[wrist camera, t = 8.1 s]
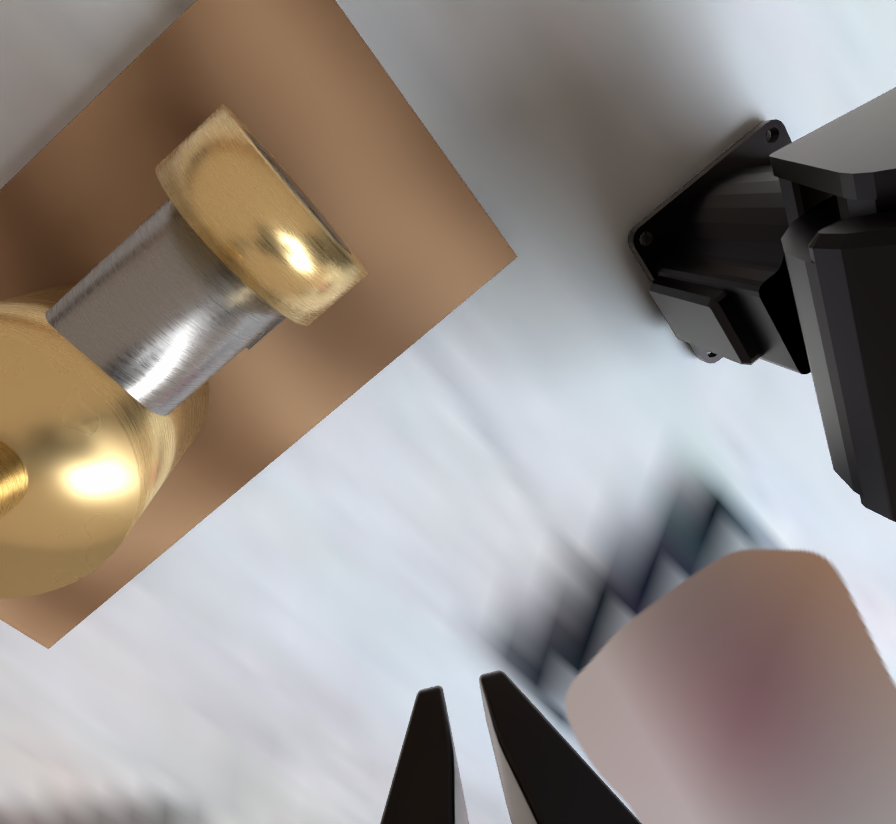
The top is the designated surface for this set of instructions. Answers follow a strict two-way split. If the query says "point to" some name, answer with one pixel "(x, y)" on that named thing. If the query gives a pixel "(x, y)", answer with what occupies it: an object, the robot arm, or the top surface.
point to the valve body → (148, 349)
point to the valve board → (323, 180)
